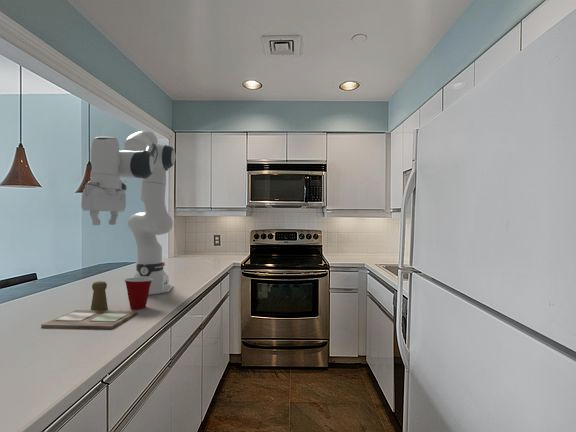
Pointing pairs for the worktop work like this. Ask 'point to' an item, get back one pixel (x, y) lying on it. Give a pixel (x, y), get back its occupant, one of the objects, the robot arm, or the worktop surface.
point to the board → (90, 319)
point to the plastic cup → (138, 291)
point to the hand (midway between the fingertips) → (104, 224)
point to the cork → (99, 296)
